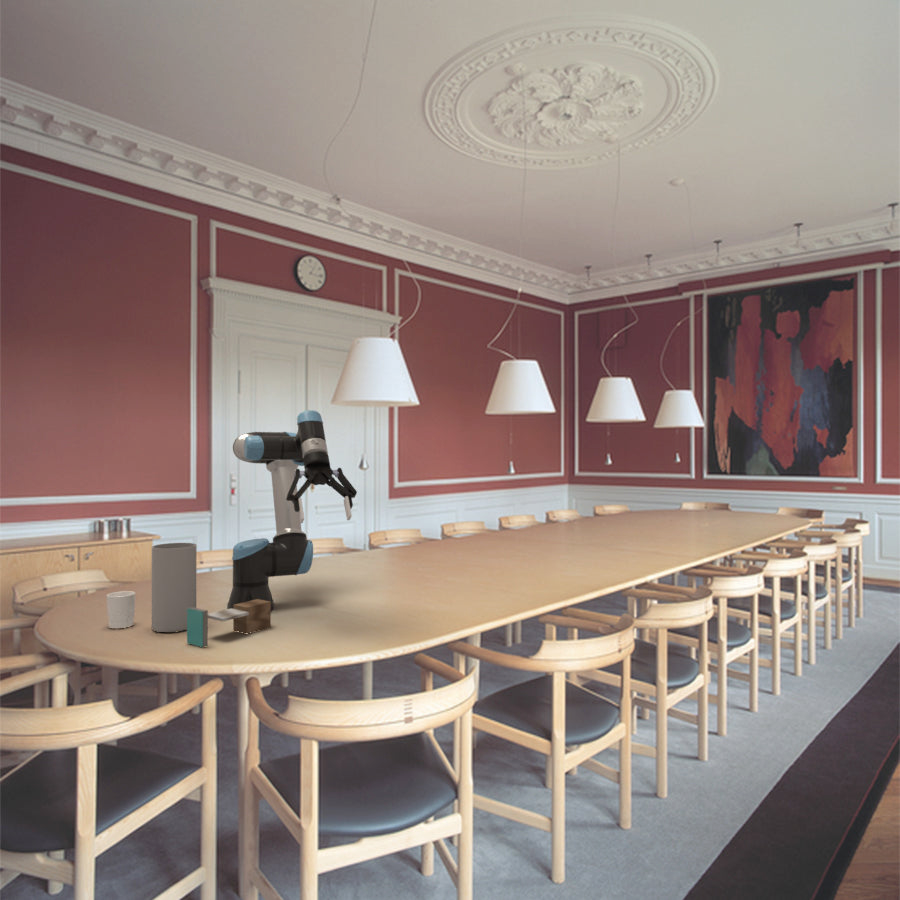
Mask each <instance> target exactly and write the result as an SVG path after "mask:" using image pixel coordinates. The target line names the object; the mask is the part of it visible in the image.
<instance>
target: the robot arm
mask: <svg viewBox="0 0 900 900" xmlns="http://www.w3.org/2000/svg"><path fill="white" fill-rule="evenodd" d="M296 419H297V420H296V425H297V431H296V433H295V432H287V431H281V432H275V431H273V432H272V431H267V432H266V431H251V432H247V433H244V434H240V435H239V436H238V437H236V439H235V440H234V441H233V444H232V452H233V454H234V456H235V457H236V458H237V459H239V460H240V461H243V462H245V463H250V464H264V465H265V467H266V470H267V471H269V472H270V475H271V484H272V485H271V487H272V494H273V495H272V496H273V507H274V518H275V529H276V534H275V535H274V536H273V537H272V542H270V540H269V539H268V538H265V537H263V538H254V539H249V540H244V541H243V540H242V541H240V542H238V543H236V544H235V545H234V546H233V548H232V557H231V560H232V589H231V591H230V595H229V599H228V602H227V604H226V606H227V607H226V610H227V609H231V608H232V609H233V605H235V604H239V603H243V602H247V601H251V600H255V599H260V600H265V601H271V611H273V610H274V608H275V604H274V603H275V602H274V598H273V596H272V592H271V589H270V585H269V578H271V577H272V578H273V577H283V576H298V575H305V574H307V573H308V572H310V569H311V568H312V564H313V558H314V544H313V541H312V540H311V539H307V538H308V537H307V533H305V532H304V531H303V530H302V524H304V521H305V514H304V507H303V501H302V498H301V497H302V496H303V495H304V494H305V492H306V491H307V490H308V488H309V487H310V486H311V485H314V486H318V485H321V486H325V485H327V486H329V487H331V488H332V489H333V490H334V491H335V492H336V493H338V494H339V495H340V496H341V497H343V498H344V499H343V506H344V510H345V516H346V520H347V521H350V520H351V518H352V517H353V516H352V515H353V514H352V509H353V506H354V504H353V500H352V499H354V498H355V497H356V496H357V494H358V492H357V489H355V487H354V486H353V485H352V483H351V482H350V481H349V480H348V478H347V477H346V475H345V474H344V472H343V469H342V468H341V467H337V469H332V468H331V463H330V456H329V452H328V446H327V441H326V435H325V429H324V428H325V427H324V421H323V420H322V419H323V418H322V415H321V413H320V412H319V411H317V410H311V409H309V410H304V411H302V412H299V414H298V415H297V417H296ZM300 466H301V467H304V470H300V468H298V467H300ZM303 477H304V478H306V480H305V482H304V483H303V485H302V486H301V487H300V488H299V489H298V486H297V485H298V483H299V481H300V479H302V478H303ZM334 477H335V478H334ZM336 478H337V480H336Z"/></svg>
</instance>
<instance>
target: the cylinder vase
mask: <svg viewBox="0 0 900 900" xmlns="http://www.w3.org/2000/svg"><path fill="white" fill-rule="evenodd" d="M190 607H194V608H197V544H196V543H194V542H169V543H160V544H155V545H153V546H151V629H152V631H154V632H155V631H158V632H157V633H159V632H175V633H177V632H176V631H182V632H184V631H183V630H186V631H187V608H190Z"/></svg>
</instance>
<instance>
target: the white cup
mask: <svg viewBox="0 0 900 900" xmlns="http://www.w3.org/2000/svg"><path fill="white" fill-rule="evenodd" d="M106 605H107V606H106V608H107V611H106V612H107V619H108V628H109V627H110V628H124V627H128V626H131V625H133V626H134V618H135V608H136V592H135V591H133V590H132V591H129V590H123V591H115V592H110V593H108V594H106ZM110 628H109V629H110ZM124 629H125V628H124Z"/></svg>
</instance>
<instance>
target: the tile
mask: <svg viewBox="0 0 900 900" xmlns="http://www.w3.org/2000/svg"><path fill="white" fill-rule="evenodd" d="M208 614H209V611H208V610H207V609H204V608H199V607H196V608H194V607H190V608H187V630H186V644H187V643H189V644H188V645H190V644H193V645H192V646H194V645H196V646H195V647H198V646H200V647H199V648H201V647H204V646H208V645H209V644H208V634H209V633H208V631H209V630H208V628H209V627H208V626H209V625H208V623H209V622H208V620H209V618H208ZM208 647H209V646H208Z"/></svg>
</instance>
